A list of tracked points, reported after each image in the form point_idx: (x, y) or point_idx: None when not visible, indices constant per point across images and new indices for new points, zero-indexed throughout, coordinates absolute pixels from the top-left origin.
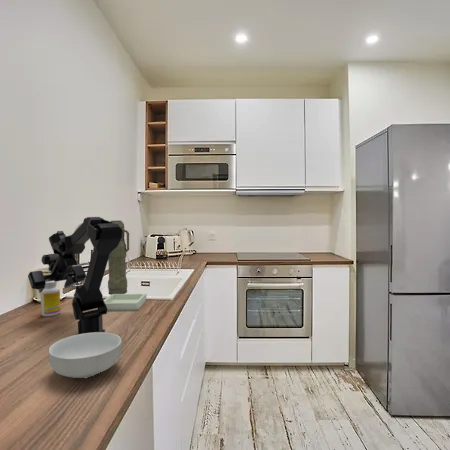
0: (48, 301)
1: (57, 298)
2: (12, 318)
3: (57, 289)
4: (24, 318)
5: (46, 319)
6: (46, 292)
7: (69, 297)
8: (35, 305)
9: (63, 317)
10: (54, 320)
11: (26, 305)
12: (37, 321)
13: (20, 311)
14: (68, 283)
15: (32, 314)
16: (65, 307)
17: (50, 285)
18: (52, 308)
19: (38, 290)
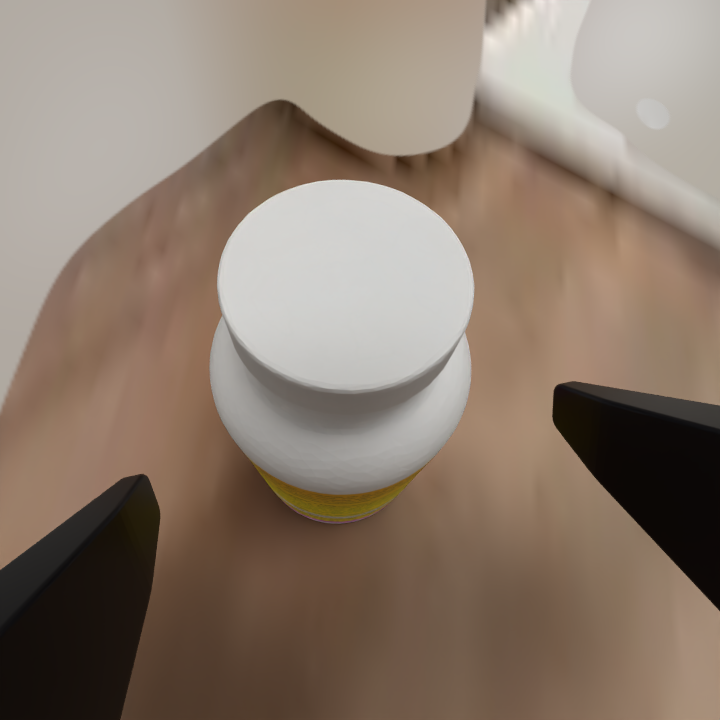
0: (302, 503)
1: (411, 479)
2: (70, 374)
3: (443, 434)
4: (139, 434)
5: (276, 597)
6: (271, 470)
7: (496, 116)
8: (284, 161)
9: (419, 634)
10: (332, 694)
11: (238, 132)
12: (197, 613)
13: (171, 234)
14: (708, 543)
15: None
16: None
17: (341, 410)
18: (342, 517)
19: (115, 491)
